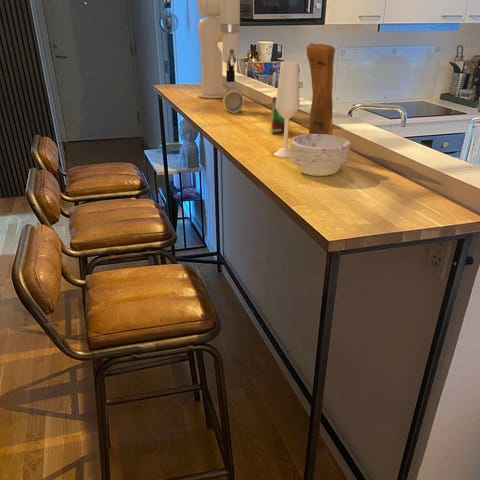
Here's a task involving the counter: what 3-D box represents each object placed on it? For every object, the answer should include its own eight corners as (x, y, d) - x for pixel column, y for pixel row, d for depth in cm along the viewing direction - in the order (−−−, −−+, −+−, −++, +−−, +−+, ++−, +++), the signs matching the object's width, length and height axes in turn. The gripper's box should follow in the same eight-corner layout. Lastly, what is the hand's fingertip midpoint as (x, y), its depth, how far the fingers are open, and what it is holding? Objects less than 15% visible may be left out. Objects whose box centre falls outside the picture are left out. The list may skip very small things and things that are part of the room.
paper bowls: (333, 183, 123) (336, 150, 118) (278, 173, 130) (280, 142, 125) (355, 168, 134) (359, 138, 129) (304, 160, 140) (306, 130, 136)
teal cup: (222, 88, 200) (223, 91, 195) (241, 88, 201) (244, 90, 196) (222, 110, 204) (224, 112, 199) (241, 109, 205) (243, 112, 200)
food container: (291, 135, 166) (293, 103, 161) (272, 135, 166) (273, 102, 161) (288, 127, 177) (290, 96, 171) (271, 127, 177) (272, 96, 171)
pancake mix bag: (314, 157, 143) (323, 46, 128) (299, 141, 159) (305, 41, 144) (336, 156, 144) (348, 46, 129) (319, 141, 160) (328, 41, 145)
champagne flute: (298, 152, 148) (304, 61, 135) (294, 158, 143) (300, 63, 130) (276, 150, 150) (280, 60, 137) (271, 156, 144) (274, 63, 131)
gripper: (218, 29, 200) (219, 79, 209) (222, 30, 187) (223, 84, 197) (237, 29, 200) (237, 79, 210) (242, 30, 188) (242, 83, 197)
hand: (230, 81), depth 203 cm, fingers closed
